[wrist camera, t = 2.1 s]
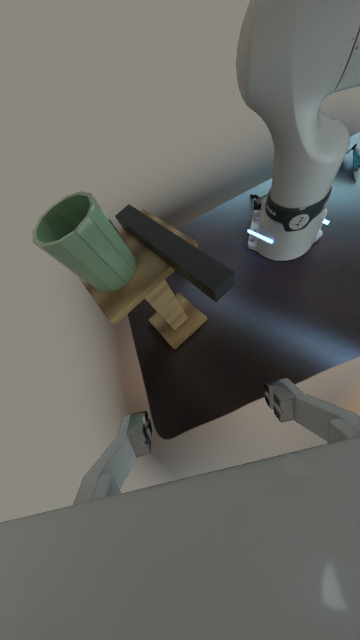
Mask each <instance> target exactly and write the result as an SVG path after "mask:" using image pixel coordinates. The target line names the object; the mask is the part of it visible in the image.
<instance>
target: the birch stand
mask: <svg viewBox="0 0 360 640" xmlns="http://www.w3.org/2000/svg"><path fill="white" fill-rule="evenodd" d="M141 212H142V213H143V214H145V215H146V216H148V217H149V218H151V219H153V220H154V221H156V222H157V223H159V224H160V225H162V226H164V227H165V228H167V229H168V230H170V231H171V232H173V233H174V234H176V235H178V236H179V237H181V238H182V239H184V240H185V241H187V242H189V243H190V244H192V245H193V246H195V247H196V248H198V244H197V242H195V241H194V240H192V239H191V238H189V237H187V236H186V235H184V234H182V233H181V232H179V231H178V230H176V229H174V228H173V227H171V226H169V225H168V224H166V223H165V222H163V221H161V220H160V219H158V218H157V217H155V216H153V215H152V214H150V213H149V212H147V211H145V210H142V211H141ZM118 232H119V233H120V235H121V236H122V237H123V239H124V240H125V242H126V243H127V244H128V246H129V247H130V249H131V250H132V251H133V253H134V255H135V257H136V259H137V261H138V263H137V268H136V273H135V275H134V276H133V277H132V278H131V280H130V281H129V282H128V284H126V285H125V286H124V287H122V288H120V289H119V290H117V291H114V292H110V293H101V292H99V291H98V290H96V289H94V288H93V287H92V286H90V285H89V284H88V283H86V282H85V281H84V280H82V279H81V278H80V277H79V279H80V280H81V281H82V283H83V284H84V286H85V287H86V289H87V290H88V291H89V293H90V294H91V296H92V297H93V299H94V300H95V301H96V303H97V304H98V306H99V307H100V308H101V310H102V311H103V313H104V314H105V316H106V317H107V319H108V320H109V321H110V322H111V323H113V324H114V325H116V324H117V323H118V322H119V321H120V320H121V319H122V318H123V317H124V316H125V315H127V314H128V313H129V312H130V311H131V310H132V309H133V308H134V307H135V306H136V305H138V304H139V303H140V302H141V301H142V300H143V299H144V298H145V299H146V300H147V301H148V302H149V304H150V305H151V306H152V307H153V308H154V309H155V310H156V311H157V313H156V314H154V315H153V316H152V317H151V318H150V319H149V321H150V322H151V324H152V325H153V326H154V327H155V328H156V329H157V330H158V332H159V333H160V334H161V335H162V336H163V337H164V338H165V340H166V341H167V342H168V343H169V344H170V345H171V346H172V348H173V349H175V350H176V349H177V348H178V347H179V346H180V345H181V344H182V343H183V342H184V341H185V340H186V339H187V338H189V337H190V336H191V335H192V334H193V333H194V332H195V331H196V330H197V329H198V328H199V327H200V326H201V325H202V324H203V323H204V322H205V321H206V320H207V317H206V316H205V315H203V314H202V313H201V312H200V311H199V310H198V309H197V308H196V307H194V306H193V305H192V304H191V303H190V302H189V301H188V300H186V299H185V298H184V297H183V296H182V295H181V294H180V293H177V294H176V295H174V294H173V292H172V290H171V289H170V287H169V285H168V284H167V282H166V280H165V279H166V278H167V277H168V276H169V275H170V274H172V273H173V272H174V271H175V269H173V268H172V267H171V266H170V265H168V264H167V263H166V262H165V261H163V260H162V259H161V258H160V257H158V256H157V255H156V254H155V253H153V252H152V251H151V250H150V249H148V248H147V247H146V246H145V245H143V244H142V243H141V242H140V241H138V240H137V239H136V238H135V237H133V236H132V235H131V234H130V233H128V232H127V231H126V230H124V229H123V227H122V228H121V229H120V230H119V231H118ZM198 249H199V248H198Z"/></svg>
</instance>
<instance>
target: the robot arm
mask: <svg viewBox="0 0 360 640" xmlns="http://www.w3.org/2000/svg"><path fill="white" fill-rule="evenodd" d="M236 68H237V80H238V86H239V90H240V93H241V96H242V98H243V100H244V101H245V103H246V105H247V106H248V107H249V108H250V109H252V110H253V111H254V112H256V113H257V114H258V115H259V116H260V117H261V118H262V119H263V121H264V122H265V123H266V125H267V127H268V129H269V131H270V133H271V135H272V139H273V143H274V150H275V159H274V171H273V179H272V185H271V188H270V190H269V192H268V194H267V195H264V196H262V197H258V196H257V195H252V194H251V195H250V197H251V199H253V198H256V200H254V211H253V215H252V220H251V226H250V230H248V233H249V238H248V244H247V247H248V248H249V249H251V250H254V251H257V252H258V253H260V254H261V255H262V256H264V257H266V258H268V259H271V260H276V261H287V260H292V259H295V258H298V257H300V256H302V255H303V254H305V253H306V252H307V251H308V250H309V249H310V247H311V246H312V244H313V243H314V242H316V241H317V240H319V239H320V238H321V237H322V234H323V232H322V230H321V229H320V228H321V226H322V223H324V224H328V223H329V221H327V220H325V219H324V218H325V216H326V213H327V209H326V208H325V205H326V203H327V201H328V199H329V195H330V193H331V189H332V187H331V186H332V184H333V181H334V179H335V177H336V175H337V173H338V171H339V169H340V166H341V164H342V162H343V160H344V158H345V156H346V154H347V151H348V148H349V143H350V135H349V131H348V129H347V128H346V126H345V125H344V124H343V123H342V122H340V121H338V120H337V119H335V118H333V117H330V116H328V115H326V114H324V113H323V112H322V111H320V105H321V102H322V101H323V99H324V98H325V97H326V96H328V95H331V94H332V93H334V92H338V91H342V90H346V89H349V88H353V87H356V86H360V0H251V1H250V3H249V6H248V8H247V11H246V14H245V17H244V20H243V24H242V27H241V32H240V36H239V42H238V48H237V60H236ZM264 388H265V390H266V392H265V393H264V395H265V400H266V402H267V404H268V406H269V407H270V408H271V409H273V410H274V414H275V415H276V417H277V418H278V419H279V421H280V422H286V421H291V420H295V421H296V422H297V423H299V424H301V425H302V426H304V427H305V428H307V429H309V430H310V431H312V432H313V433H315V434H317V435H318V436H320V437H321V438H323V439H325V440H326V441H328V443H327V444H324V445H320V446H316V447H312V448H308V449H304V450H300V451H295V452H291V453H287V454H283V455H279V456H275V457H271V458H266V459H263V460H259V461H254V462H250V463H246V464H242V465H238V466H233V467H230V468H225V469H221V470H217V471H213V472H209V473H204V474H200V475H196V476H192V477H188V478H184V479H180V480H176V481H171V482H167V483H163V484H159V485H155V486H151V487H147V488H142V489H138V490H134V491H130V492H126V493H121V491H120V488H121V487H122V485H123V483H124V481H125V479H126V477H127V475H128V474H129V472H130V470H131V468H132V466H133V465H134V463H135V461H136V459H137V457H140V456H143V455H147V454H150V451H151V441H150V438H151V436H152V427H151V422H150V420H149V419H148V414H147V412H146V411H143V412H139V413H134V414H130V415H125V416H123V418H122V421H121V425H120V429H119V433H118V436H117V439H115V440H114V441H113V442H112V443H111V445H110V446H109V447H108V448H107V449H106V451H105V452H104V453H103V454H102V456H101V457H100V458H99V459H98V460H97V462H96V463H95V464H94V465H93V466H92V468H91V469H90V470H89V471H88V473H87V474H86V475H85V476H84V477H83V480H82V482H81V485H80V488H79V490H78V493H77V496H76V498H75V501H74V504H73V505H72V506H68V507H64V508H60V509H56V510H52V511H47V512H43V513H39V514H35V515H31V516H27V517H23V518H19V519H14V520H9V521H5V522H2V523H0V640H360V416H358V415H357V414H356V413H354V412H352V411H349V410H346V409H344V408H341V407H339V406H336V405H334V404H331V403H329V402H326V401H324V400H321V399H318V398H316V397H313V396H311V395H308V394H307V395H305V394H304V393H303V392H302V391H301V390H300V389H299V388H298V387H296V386H295V385H294V384H293V383H292V382H291V381H290V380H289V379H288V378H284V379H280V380H276V381H272V382H268V383H265V384H264Z"/></svg>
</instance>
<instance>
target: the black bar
mask: <svg viewBox="0 0 360 640" xmlns="http://www.w3.org/2000/svg"><path fill="white" fill-rule="evenodd" d="M115 217H116V218H117V220H118V221H119V223H120V224H121V226H122V227H123V229H124V230H126V231H127V232H128V233H130V234H131V235H132V236H133V237H135V238H136V239H137V240H138V241H140V242H141V243H142V244H143V245H145V246H146V247H147V248H148V249H150V250H151V251H152V252H153V253H155V254H156V255H157V256H158V257H160V258H161V259H162V260H163V261H165V262H166V263H167V264H168V265H170V266H171V267H172V268H173V269H175V270H176V271H177V272H178V273H180V274H181V275H182V276H184V277H185V278H186V279H187V280H189V281H190V282H191V283H192V284H194V285H195V286H196V287H197V288H199V289H200V290H201V291H202V292H204V293H205V294H206V295H207V296H209V297H210V298H211V299H212V300H214V301H215V302H217V301H218V300H219V299H220V298H221V297H222V296H223V295H224V294H225V293H226V292H227V291H229V290H230V289H231V288H232V287H233V286H234V285H235V272H234V271H232V270H231V269H229V268H228V267H226V266H224V265H223V264H221V263H220V262H218V261H217V260H215V259H214V258H212V257H210V256H209V255H207V254H206V253H204V252H203V251H201V250H199V249H198V248H196V247H195V246H193V245H192V244H190V243H189V242H187V241H185V240H184V239H182V238H181V237H179V236H178V235H176V234H174V233H173V232H171V231H170V230H168V229H167V228H165V227H164V226H162V225H160V224H159V223H157V222H156V221H154V220H153V219H151V218H149V217H148V216H146V215H145V214H143V213H142V212H140V211H138V210H137V209H135V208H134V207H132V206H131V205H127V206H126V207H125V208H124V209H123V210H122V211H120V212H119V213H118V214H117V215H116V216H115Z"/></svg>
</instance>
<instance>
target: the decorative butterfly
mask: <svg viewBox="0 0 360 640" xmlns="http://www.w3.org/2000/svg"><path fill="white" fill-rule="evenodd" d="M357 144H358V143H356V144H355V145H354V146H353V147H352V149H350V150H348V151H347V153H348V152H350V151H351V150H353V168H354V177H355V181H357V173H358V170H359V168H358V167H360V150H359V149H357V148H356V146H357Z"/></svg>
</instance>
